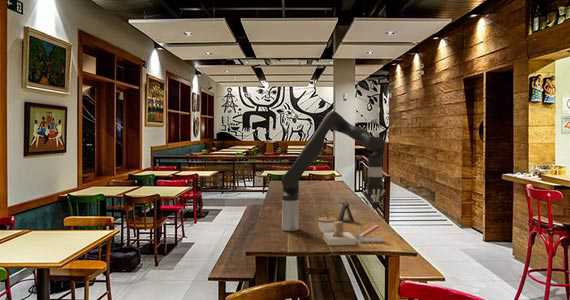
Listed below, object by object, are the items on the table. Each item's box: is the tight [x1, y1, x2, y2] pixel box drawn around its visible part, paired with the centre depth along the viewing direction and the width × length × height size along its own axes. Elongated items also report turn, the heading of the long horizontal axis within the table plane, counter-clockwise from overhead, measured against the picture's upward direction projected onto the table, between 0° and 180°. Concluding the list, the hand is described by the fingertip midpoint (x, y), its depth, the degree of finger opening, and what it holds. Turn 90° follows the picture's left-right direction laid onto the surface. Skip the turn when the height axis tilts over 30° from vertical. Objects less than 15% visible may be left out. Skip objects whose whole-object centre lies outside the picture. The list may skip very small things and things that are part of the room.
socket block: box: [322, 231, 357, 246], centre depth 223 cm, size 14×14×3 cm
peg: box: [333, 220, 344, 237], centre depth 223 cm, size 4×4×10 cm
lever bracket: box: [354, 232, 385, 244], centre depth 224 cm, size 14×7×3 cm, turn 95°
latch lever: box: [358, 224, 380, 238], centre depth 224 cm, size 12×3×2 cm, turn 94°
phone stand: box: [337, 200, 355, 223], centre depth 274 cm, size 9×6×12 cm, turn 95°
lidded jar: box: [317, 215, 338, 234], centre depth 243 cm, size 11×11×9 cm
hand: (375, 209), depth 224 cm, fingers closed
